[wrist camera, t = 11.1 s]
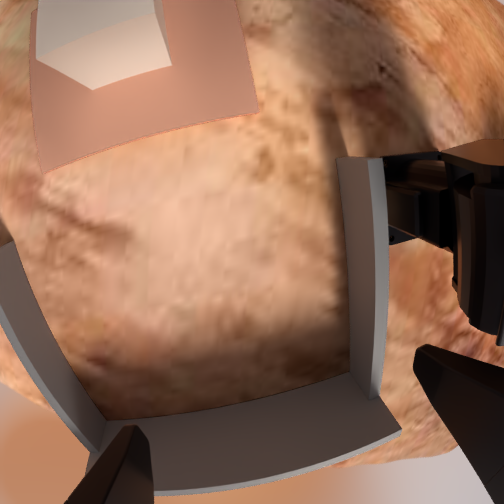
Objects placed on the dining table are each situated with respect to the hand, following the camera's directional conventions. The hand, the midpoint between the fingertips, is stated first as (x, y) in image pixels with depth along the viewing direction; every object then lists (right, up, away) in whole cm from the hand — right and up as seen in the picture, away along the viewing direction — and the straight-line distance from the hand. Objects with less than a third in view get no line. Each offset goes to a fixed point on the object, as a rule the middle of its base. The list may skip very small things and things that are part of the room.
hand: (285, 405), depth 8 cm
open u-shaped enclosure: (-5, 0, +12) cm, 13 cm away
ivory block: (-8, +17, +5) cm, 20 cm away
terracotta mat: (-9, +17, +6) cm, 20 cm away
